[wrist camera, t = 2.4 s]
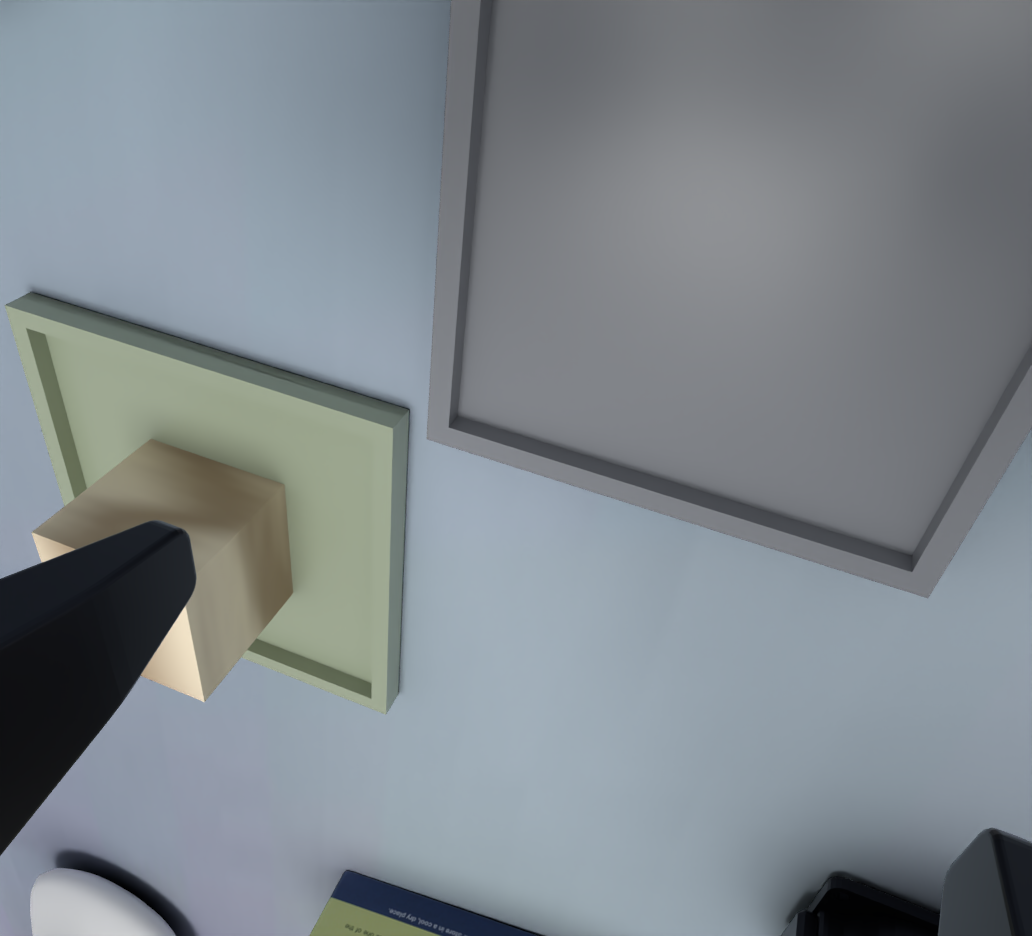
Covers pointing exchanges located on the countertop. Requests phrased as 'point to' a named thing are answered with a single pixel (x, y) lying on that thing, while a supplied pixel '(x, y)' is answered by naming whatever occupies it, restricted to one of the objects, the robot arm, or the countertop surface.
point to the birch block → (216, 551)
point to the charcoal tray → (744, 262)
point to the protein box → (397, 913)
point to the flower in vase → (89, 907)
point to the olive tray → (255, 449)
